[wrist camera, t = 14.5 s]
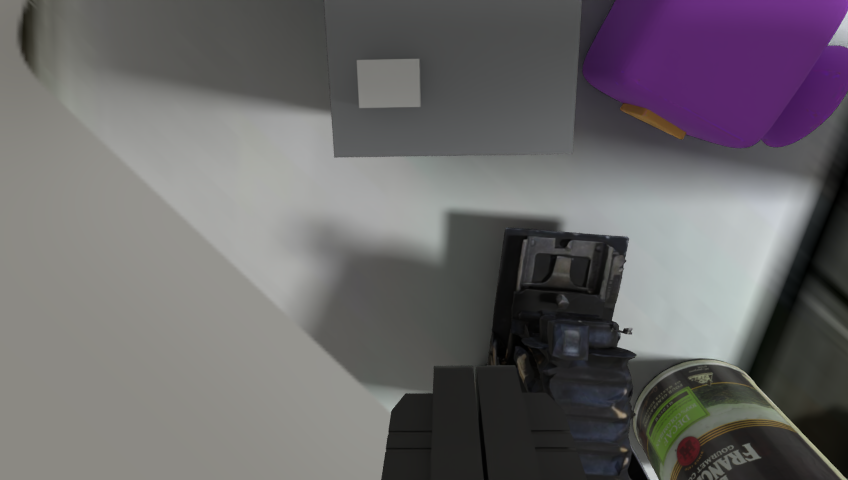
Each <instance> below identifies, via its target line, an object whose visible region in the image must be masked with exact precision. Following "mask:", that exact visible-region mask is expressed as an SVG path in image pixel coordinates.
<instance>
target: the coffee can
mask: <svg viewBox="0 0 848 480" xmlns="http://www.w3.org/2000/svg"><path fill="white" fill-rule="evenodd" d="M634 413H635V414H636V415H635V416H634V417H633V428H634V432H635V435H636V438H637V440H638V442H639V443H640V445H641V447H642V448H643V450H644V452H645V453H646V455H647V457H648V459H649V461H650V463H651V465H652V467H653V469H654V471H655V473H656V475H657V477H658V479H659V480H847V479H846V478H845V477H844V476H843V475H842V474H841V473H840V472H839V471H838V470H837V469H836V468H835V467H834V466H833V464H832V463H831V462H830V461H829V460H828V459H827V458H826V457H825V456H824V455H823V454H822V453H821V452H820V451H819V450H818V449H817V448H816V447H815V446H814V445H813V444H812V443H811V442H810V441H809V440H808V439H807V438H806V436H805V435H804V434H803V433H802V432H801V431H800V430H799V429H798V428H797V427H796V426H795V425H794V424H793V423H792V422H791V421H790V420H789V419H788V418H787V417H786V416H785V415H784V414H783V413H782V411H781V410H780V409H779V408H778V407H777V406H776V405H775V404H774V403H773V402H772V401H771V400H770V399H769V398H768V397H767V396H766V395H765V394H764V393H763V392H762V391H761V390H760V389H759V388H758V387H757V385H756V384H755V383H754V381H753V380H752V379H751V378H750V377H749V376H748V375H747V374H746V373H745V372H744V371H742V370H741V369H739V368H738V367H736V366H734V365H731V364H728V363H726V362H722V361H717V360H694V361H688V362H684V363H681V364H678V365H676V366H673V367H671V368H669V369H667V370H665V371H664V372H662V373H661V374H659V375H658V376H657V377H655V378H654V379H653V380H652V381H651V382H650V383H649V384H648V385H647V386H646V387H645V388H644V390H643V391H642V393H641V395H640V396H639V398H638V400H637V402H636V405H635V409H634Z"/></svg>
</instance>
